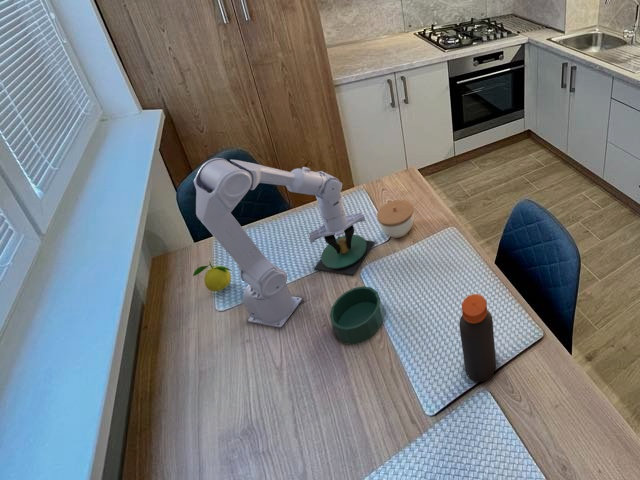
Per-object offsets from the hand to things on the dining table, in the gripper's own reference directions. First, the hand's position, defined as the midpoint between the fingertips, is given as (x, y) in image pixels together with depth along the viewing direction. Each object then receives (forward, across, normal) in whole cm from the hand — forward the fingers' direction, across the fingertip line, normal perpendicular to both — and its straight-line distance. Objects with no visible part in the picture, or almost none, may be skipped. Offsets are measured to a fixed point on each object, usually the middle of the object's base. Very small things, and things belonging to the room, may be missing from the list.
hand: (343, 248), depth 116 cm
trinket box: (+3, +16, +1) cm, 17 cm away
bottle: (+3, +17, -50) cm, 52 cm away
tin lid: (+1, 0, 0) cm, 1 cm away
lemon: (+3, -30, +8) cm, 32 cm away
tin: (+3, -2, -23) cm, 24 cm away
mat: (+3, 0, 0) cm, 3 cm away
